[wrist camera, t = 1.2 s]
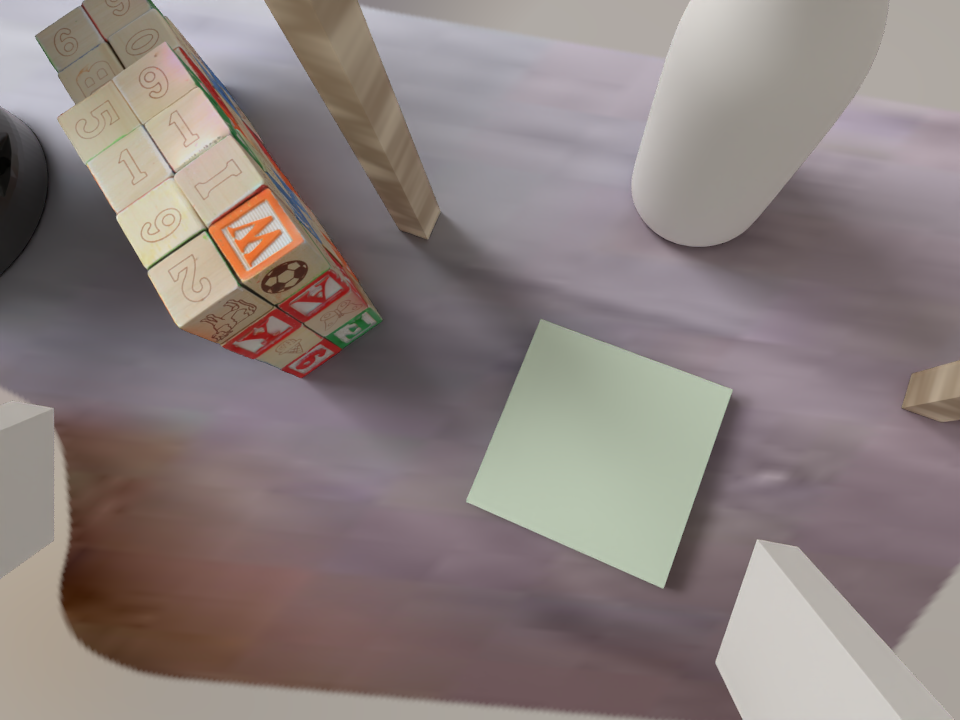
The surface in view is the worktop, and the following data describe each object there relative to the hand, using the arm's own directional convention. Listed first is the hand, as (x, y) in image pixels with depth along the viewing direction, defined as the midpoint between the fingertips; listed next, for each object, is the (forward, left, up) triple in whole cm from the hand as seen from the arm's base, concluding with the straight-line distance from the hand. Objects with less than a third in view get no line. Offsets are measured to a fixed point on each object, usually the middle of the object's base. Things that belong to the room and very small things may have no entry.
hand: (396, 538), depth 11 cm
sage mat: (+3, +6, -22) cm, 22 cm away
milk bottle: (-1, +22, -22) cm, 31 cm away
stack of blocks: (-23, +4, -22) cm, 32 cm away
